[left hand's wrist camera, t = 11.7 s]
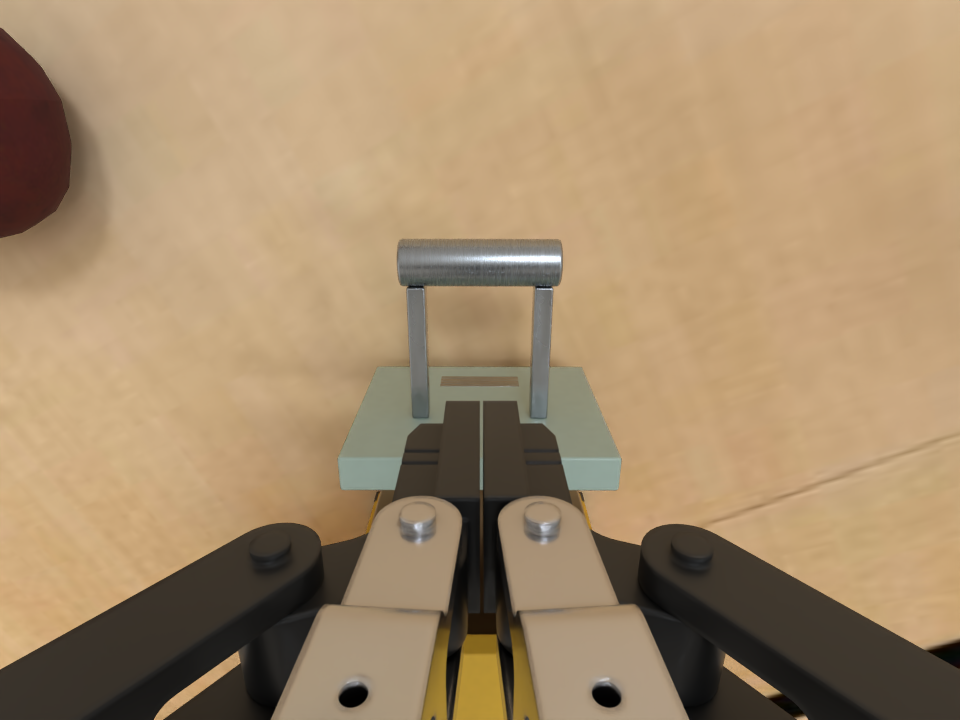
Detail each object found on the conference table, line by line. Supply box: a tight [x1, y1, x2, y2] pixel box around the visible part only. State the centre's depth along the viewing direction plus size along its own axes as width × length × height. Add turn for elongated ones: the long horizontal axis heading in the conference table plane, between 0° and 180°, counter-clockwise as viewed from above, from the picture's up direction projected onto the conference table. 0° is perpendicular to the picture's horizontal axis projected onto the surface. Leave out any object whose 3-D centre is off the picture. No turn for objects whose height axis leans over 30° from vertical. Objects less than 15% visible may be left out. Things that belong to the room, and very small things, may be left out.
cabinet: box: [366, 492, 592, 720], centre depth 27 cm, size 18×10×9 cm, turn 0°
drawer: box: [338, 239, 622, 634], centre depth 23 cm, size 23×9×8 cm, turn 0°
